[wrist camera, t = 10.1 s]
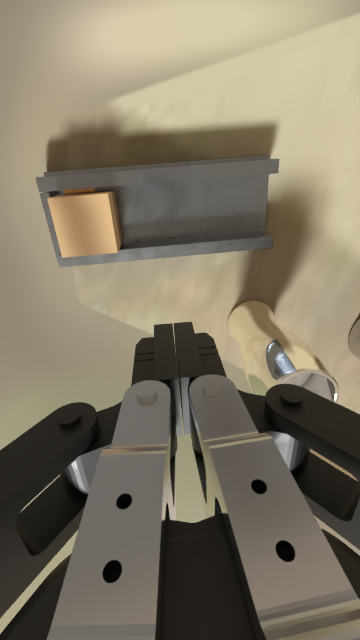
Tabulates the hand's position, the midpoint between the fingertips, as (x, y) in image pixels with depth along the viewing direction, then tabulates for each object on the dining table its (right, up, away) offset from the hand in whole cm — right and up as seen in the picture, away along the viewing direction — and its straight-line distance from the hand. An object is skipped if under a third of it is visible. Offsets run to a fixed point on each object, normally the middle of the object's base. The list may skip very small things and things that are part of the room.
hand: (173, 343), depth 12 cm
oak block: (-8, +11, +18) cm, 23 cm away
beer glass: (+9, +1, +27) cm, 28 cm away
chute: (-2, +13, +20) cm, 23 cm away
